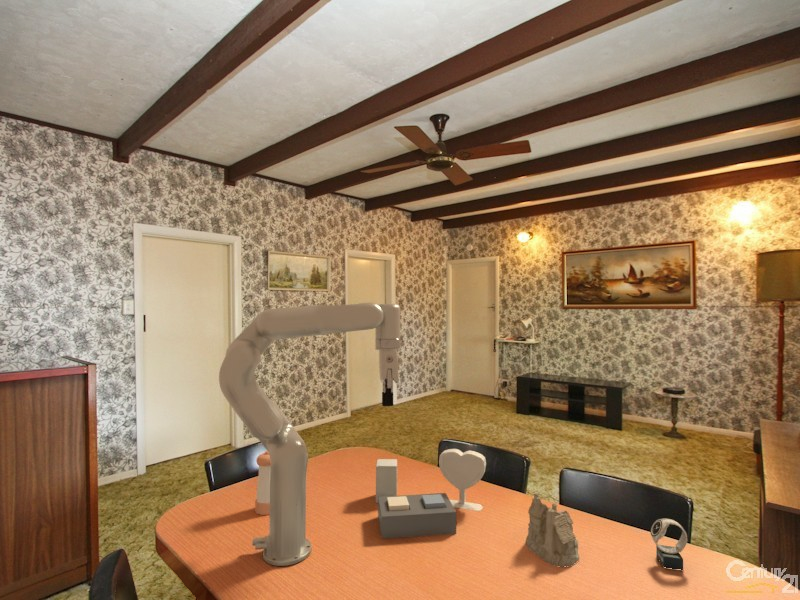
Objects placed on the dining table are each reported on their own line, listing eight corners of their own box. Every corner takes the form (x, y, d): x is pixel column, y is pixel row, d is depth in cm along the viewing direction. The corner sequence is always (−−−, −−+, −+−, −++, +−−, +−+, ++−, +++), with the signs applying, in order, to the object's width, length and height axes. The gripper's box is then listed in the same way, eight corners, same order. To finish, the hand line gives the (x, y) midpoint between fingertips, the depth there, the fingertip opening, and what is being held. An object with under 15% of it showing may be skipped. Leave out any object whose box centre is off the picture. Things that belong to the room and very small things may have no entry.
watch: (648, 555, 111) (647, 513, 112) (682, 559, 109) (681, 517, 110) (655, 567, 106) (654, 523, 106) (691, 572, 104) (690, 528, 104)
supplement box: (396, 503, 141) (397, 466, 142) (375, 503, 141) (375, 466, 142) (397, 494, 149) (397, 458, 149) (376, 494, 149) (376, 458, 149)
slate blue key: (425, 520, 125) (425, 503, 125) (421, 511, 130) (421, 495, 131) (445, 519, 125) (445, 502, 126) (440, 510, 131) (440, 494, 131)
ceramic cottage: (552, 570, 105) (553, 508, 106) (515, 539, 120) (516, 485, 122) (602, 562, 110) (602, 503, 111) (560, 533, 125) (561, 482, 126)
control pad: (381, 538, 119) (381, 516, 119) (378, 516, 132) (378, 496, 132) (456, 533, 122) (456, 511, 122) (445, 512, 135) (445, 492, 135)
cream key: (389, 523, 123) (389, 506, 123) (387, 513, 129) (387, 497, 129) (409, 521, 124) (409, 504, 124) (406, 512, 130) (406, 496, 130)
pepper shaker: (281, 505, 140) (282, 447, 140) (273, 515, 133) (273, 455, 133) (261, 504, 141) (261, 447, 141) (251, 514, 133) (252, 454, 134)
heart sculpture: (438, 504, 141) (438, 451, 141) (441, 498, 145) (441, 446, 146) (484, 512, 135) (484, 456, 136) (486, 505, 140) (486, 451, 141)
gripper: (403, 346, 119) (403, 411, 118) (396, 342, 134) (396, 400, 133) (377, 346, 118) (377, 411, 117) (373, 342, 133) (373, 400, 132)
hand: (387, 405), depth 125 cm, fingers closed
